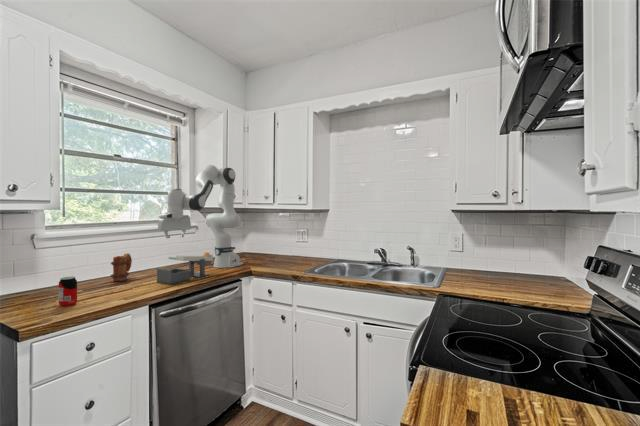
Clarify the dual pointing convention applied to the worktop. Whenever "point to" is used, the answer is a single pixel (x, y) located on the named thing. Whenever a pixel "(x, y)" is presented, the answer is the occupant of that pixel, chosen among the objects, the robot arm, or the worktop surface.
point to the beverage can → (67, 291)
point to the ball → (206, 255)
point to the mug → (121, 267)
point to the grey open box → (172, 276)
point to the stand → (202, 269)
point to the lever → (194, 259)
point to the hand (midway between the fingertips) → (175, 237)
